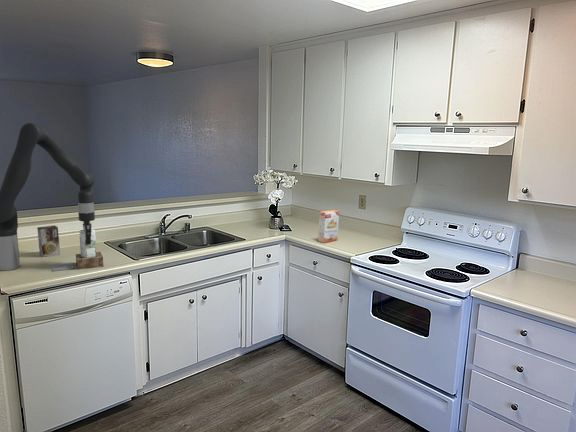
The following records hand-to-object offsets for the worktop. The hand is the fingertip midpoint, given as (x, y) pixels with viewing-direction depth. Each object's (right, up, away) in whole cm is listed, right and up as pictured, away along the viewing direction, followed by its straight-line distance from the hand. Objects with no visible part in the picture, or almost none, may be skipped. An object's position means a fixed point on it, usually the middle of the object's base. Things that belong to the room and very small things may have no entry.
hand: (87, 242), depth 216 cm
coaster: (-11, -13, -4) cm, 17 cm away
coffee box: (-31, -8, +19) cm, 37 cm away
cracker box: (+132, -4, +69) cm, 149 cm away
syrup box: (0, -8, +1) cm, 8 cm away
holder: (0, -12, +2) cm, 12 cm away
